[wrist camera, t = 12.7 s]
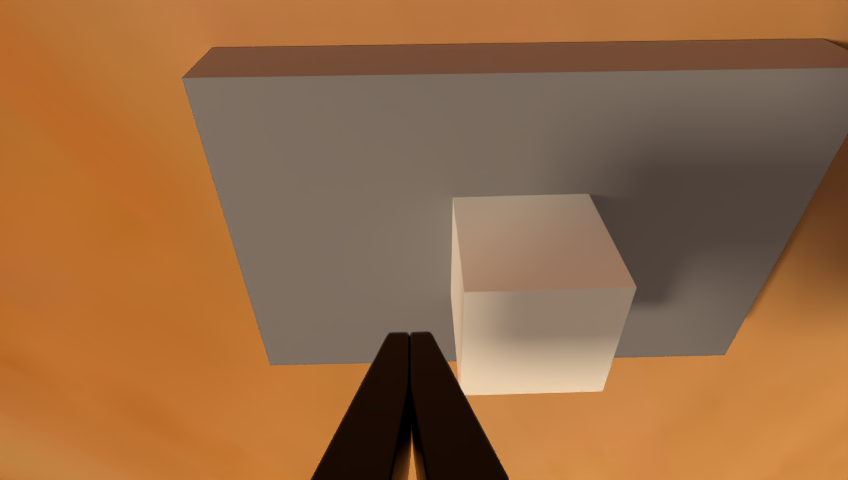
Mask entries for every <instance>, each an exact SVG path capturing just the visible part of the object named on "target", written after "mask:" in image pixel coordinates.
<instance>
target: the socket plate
mask: <svg viewBox="0 0 848 480" xmlns="http://www.w3.org/2000/svg"><path fill="white" fill-rule="evenodd" d="M182 80H183V83H184V87H185V90H186V93H187V96H188V100H189V103H190V106H191V109H192V113H193V116H194V119H195V122H196V126H197V129H198V132H199V135H200V139H201V142H202V145H203V148H204V152H205V155H206V158H207V161H208V165H209V168H210V171H211V174H212V178H213V181H214V184H215V187H216V191H217V194H218V197H219V200H220V204H221V207H222V210H223V213H224V217H225V220H226V223H227V226H228V230H229V233H230V236H231V239H232V243H233V246H234V249H235V252H236V256H237V259H238V262H239V265H240V269H241V272H242V275H243V278H244V282H245V285H246V288H247V291H248V295H249V298H250V301H251V304H252V308H253V311H254V314H255V317H256V321H257V324H258V327H259V330H260V334H261V337H262V340H263V343H264V347H265V350H266V353H267V356H268V360H269V363H270V365H308V364H353V363H372V362H373V360H374V359H375V357H376V355H377V353H378V351H379V349H380V347H381V345H382V343H383V341H384V340H385V338H386V336H387V335H388V334H389V333H390V332H407V333H409V335H410V334H411V333H412V332H419V331H429V332H431V333H432V334H433V336H434V338H435V340H436V342H437V344H438V346H439V347H440V349H441V351H442V353H443V355H444V357H445V359H446V361H457V358H456V347H455V336H454V325H453V314H452V303H451V263H452V214H453V197H485V196H522V195H559V194H589V195H590V197H591V199H592V201H593V203H594V205H595V207H596V209H597V211H598V213H599V215H600V217H601V219H602V221H603V223H604V225H605V227H606V229H607V231H608V232H609V234H610V236H611V238H612V240H613V242H614V244H615V246H616V248H617V250H618V252H619V254H620V256H621V258H622V260H623V262H624V264H625V266H626V267H627V269H628V271H629V273H630V275H631V277H632V279H633V281H634V283H635V285H636V287H637V288H636V291H635V294H634V297H633V300H632V303H631V306H630V309H629V312H628V315H627V318H626V321H625V324H624V327H623V330H622V333H621V336H620V339H619V342H618V345H617V348H616V351H615V354H614V357H613V358H619V357H664V356H708V355H725V354H726V352H727V350H728V348H729V346H730V345H731V343H732V341H733V339H734V337H735V336H736V334H737V332H738V330H739V328H740V327H741V325H742V323H743V321H744V319H745V318H746V316H747V314H748V312H749V310H750V309H751V307H752V305H753V303H754V301H755V300H756V298H757V296H758V294H759V292H760V291H761V289H762V287H763V285H764V283H765V282H766V280H767V278H768V276H769V274H770V273H771V271H772V269H773V267H774V265H775V264H776V262H777V260H778V258H779V256H780V255H781V253H782V251H783V249H784V247H785V246H786V244H787V242H788V240H789V238H790V237H791V235H792V233H793V231H794V229H795V228H796V226H797V224H798V222H799V220H800V219H801V217H802V215H803V213H804V211H805V210H806V208H807V206H808V204H809V202H810V201H811V199H812V197H813V195H814V193H815V192H816V190H817V188H818V186H819V184H820V183H821V181H822V179H823V177H824V175H825V174H826V172H827V170H828V168H829V166H830V165H831V163H832V161H833V159H834V157H835V156H836V154H837V152H838V150H839V148H840V147H841V145H842V143H843V141H844V139H845V138H846V136H847V134H848V50H846V49H844V48H842V47H840V46H838V45H836V44H833V43H831V42H829V41H827V40H825V39H766V40H697V41H628V42H560V43H491V44H422V45H354V46H285V47H217V48H211V49H210V50H209V51H208V52H207V53H206V54H205V55H204V56H203V57H202V58H201V59H200V60H199V61H198V62H197V63H196V64H195V65H194V66H193V67H192V68H191V69H190V70H189V71H188V72H187V73H186V74H185V75H184V76H183V77H182Z"/></svg>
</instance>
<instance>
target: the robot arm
mask: <svg viewBox="0 0 848 480" xmlns="http://www.w3.org/2000/svg"><path fill="white" fill-rule="evenodd" d="M412 443H413V453H414V461H415V468H416V476H417V480H509V478H508V476H507V474H506V472H505V470H504V468H503V466H502V464H501V463H500V461H499V459H498V457H497V455H496V453H495V451H494V449H493V447H492V446H491V444H490V442H489V440H488V438H487V436H486V434H485V432H484V430H483V429H482V427H481V425H480V423H479V421H478V419H477V417H476V415H475V413H474V412H473V410H472V408H471V406H470V404H469V402H468V400H467V398H466V396H465V395H464V393H463V391H462V389H461V387H460V385H459V383H458V381H457V379H456V378H455V376H454V374H453V372H452V370H451V368H450V366H449V364H448V363H447V361H446V359H445V357H444V355H443V353H442V351H441V349H440V347H439V346H438V344H437V342H436V340H435V338H434V336H433V334H432V333H431V332H429V331H419V332H412V333H411V334H410V335H409V333H407V332H390V333H389V334H388V335H387V336H386V338H385V340H384V341H383V343H382V345H381V347H380V349H379V351H378V353H377V355H376V357H375V359H374V360H373V362H372V364H371V366H370V368H369V370H368V372H367V374H366V376H365V378H364V379H363V381H362V383H361V385H360V387H359V389H358V391H357V393H356V395H355V397H354V398H353V400H352V402H351V404H350V406H349V408H348V410H347V412H346V414H345V415H344V417H343V419H342V421H341V423H340V425H339V427H338V429H337V431H336V433H335V434H334V436H333V438H332V440H331V442H330V444H329V446H328V448H327V450H326V452H325V453H324V455H323V457H322V459H321V461H320V463H319V465H318V467H317V469H316V471H315V472H314V474H313V476H312V478H311V480H408V475H409V466H410V457H411V444H412Z"/></svg>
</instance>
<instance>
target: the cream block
mask: <svg viewBox="0 0 848 480" xmlns="http://www.w3.org/2000/svg"><path fill="white" fill-rule="evenodd" d="M636 288H637V287H636V285H635V283H634V281H633V279H632V277H631V275H630V273H629V271H628V269H627V267H626V266H625V264H624V262H623V260H622V258H621V256H620V254H619V252H618V250H617V248H616V246H615V244H614V242H613V240H612V238H611V236H610V234H609V232H608V231H607V229H606V227H605V225H604V223H603V221H602V219H601V217H600V215H599V213H598V211H597V209H596V207H595V205H594V203H593V201H592V199H591V197H590V195H589V194H559V195H522V196H485V197H453V214H452V263H451V303H452V314H453V325H454V336H455V347H456V358H457V369H458V380H459V385H460V387H461V389H462V391H463V393H464V395H495V394H528V393H562V392H596V391H603V388H604V385H605V382H606V379H607V376H608V373H609V369H610V366H611V363H612V360H613V357H614V354H615V351H616V348H617V345H618V342H619V339H620V336H621V333H622V330H623V327H624V324H625V321H626V318H627V315H628V312H629V309H630V306H631V303H632V300H633V297H634V294H635V291H636Z"/></svg>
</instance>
